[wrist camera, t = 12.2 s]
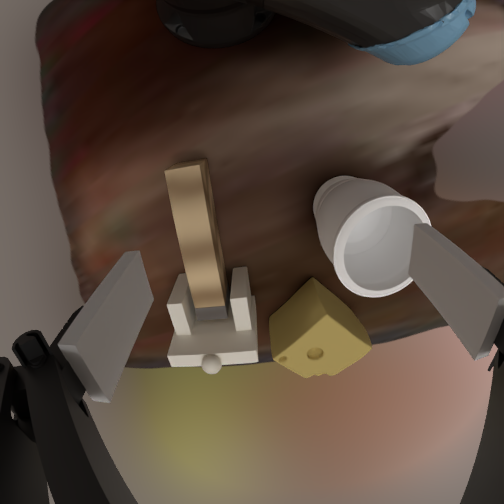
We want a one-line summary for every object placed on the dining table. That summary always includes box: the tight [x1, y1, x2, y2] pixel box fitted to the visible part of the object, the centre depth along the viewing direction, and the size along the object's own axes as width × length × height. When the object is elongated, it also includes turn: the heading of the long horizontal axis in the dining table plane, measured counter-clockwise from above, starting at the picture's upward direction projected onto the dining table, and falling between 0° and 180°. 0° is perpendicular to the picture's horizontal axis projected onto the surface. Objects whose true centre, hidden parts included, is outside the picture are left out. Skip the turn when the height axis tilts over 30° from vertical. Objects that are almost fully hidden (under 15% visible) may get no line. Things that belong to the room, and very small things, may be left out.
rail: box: [165, 158, 230, 321], centre depth 38 cm, size 20×4×6 cm, turn 7°
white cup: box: [313, 176, 431, 297], centre depth 32 cm, size 11×10×15 cm
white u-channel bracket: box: [167, 267, 258, 374], centre depth 38 cm, size 7×11×14 cm, turn 97°
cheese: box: [269, 277, 372, 378], centre depth 42 cm, size 10×11×10 cm
